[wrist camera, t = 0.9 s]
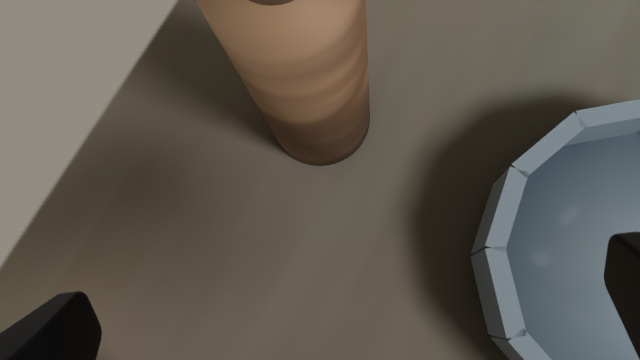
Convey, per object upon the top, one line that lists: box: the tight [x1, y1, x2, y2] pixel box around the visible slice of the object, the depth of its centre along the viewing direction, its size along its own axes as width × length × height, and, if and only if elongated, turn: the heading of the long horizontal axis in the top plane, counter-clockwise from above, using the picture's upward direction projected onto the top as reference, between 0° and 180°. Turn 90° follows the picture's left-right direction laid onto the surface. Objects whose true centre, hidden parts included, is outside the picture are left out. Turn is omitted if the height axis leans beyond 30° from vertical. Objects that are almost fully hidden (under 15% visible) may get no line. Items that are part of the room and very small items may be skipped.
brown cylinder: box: [195, 0, 370, 166], centre depth 18 cm, size 4×4×12 cm
